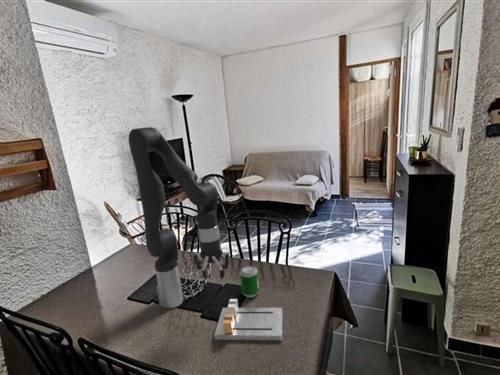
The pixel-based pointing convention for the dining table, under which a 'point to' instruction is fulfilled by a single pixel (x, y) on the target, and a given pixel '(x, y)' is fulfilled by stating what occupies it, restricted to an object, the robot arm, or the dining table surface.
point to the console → (252, 324)
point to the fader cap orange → (228, 323)
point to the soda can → (249, 281)
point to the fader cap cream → (233, 306)
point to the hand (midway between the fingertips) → (214, 277)
